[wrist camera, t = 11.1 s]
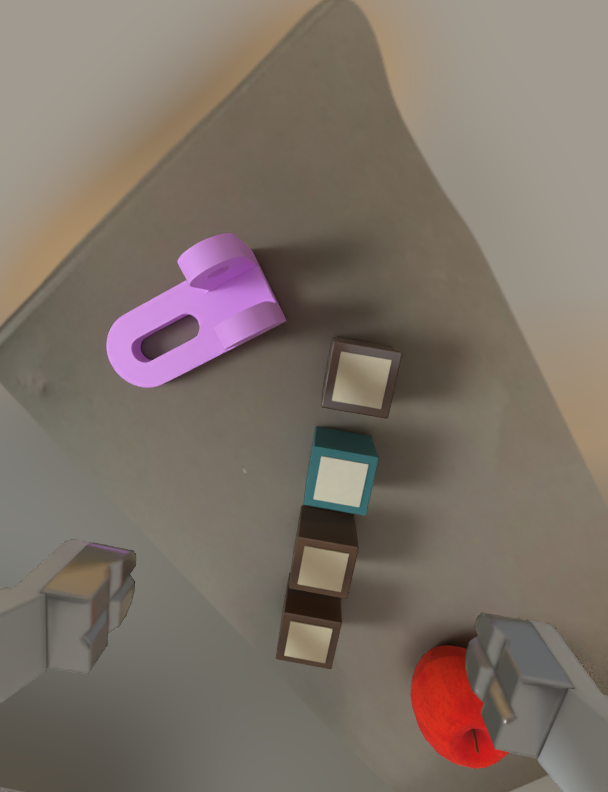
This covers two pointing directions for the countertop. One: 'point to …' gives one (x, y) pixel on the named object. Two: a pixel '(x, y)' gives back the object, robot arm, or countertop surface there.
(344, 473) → the letter block
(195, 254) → the bracket
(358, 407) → the block
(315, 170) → the countertop surface
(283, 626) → the block
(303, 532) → the block
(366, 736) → the countertop surface
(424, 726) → the apple
